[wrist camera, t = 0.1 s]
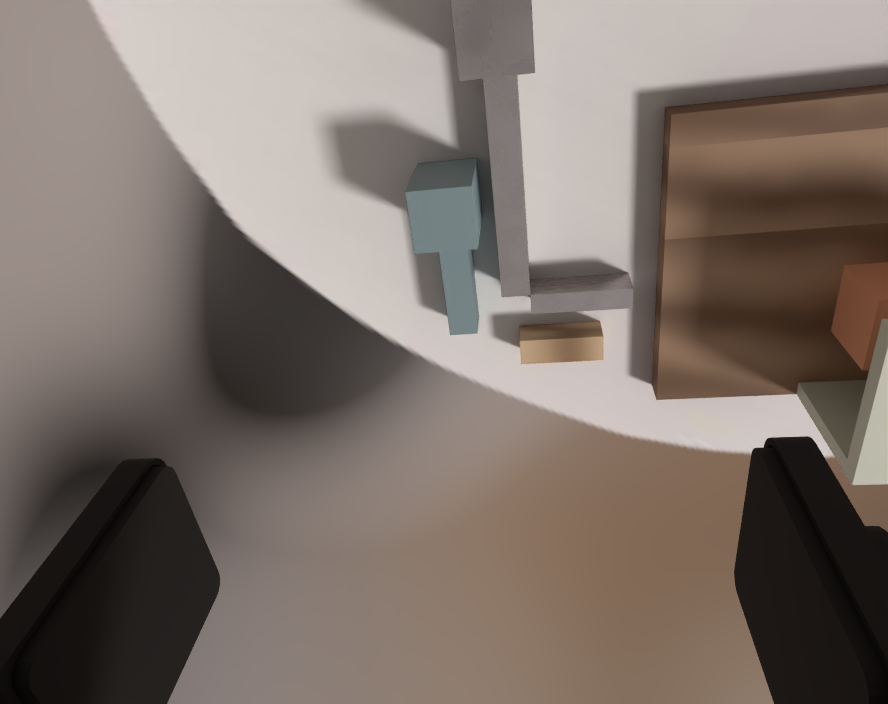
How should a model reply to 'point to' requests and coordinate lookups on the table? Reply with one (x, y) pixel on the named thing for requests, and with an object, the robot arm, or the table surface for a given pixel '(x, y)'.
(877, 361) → the cubby
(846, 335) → the cube
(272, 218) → the table surface
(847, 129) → the deck
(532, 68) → the crook
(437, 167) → the light blue l-shaped block
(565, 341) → the short block
